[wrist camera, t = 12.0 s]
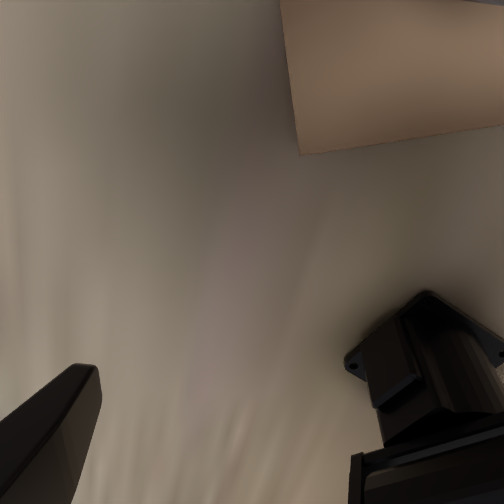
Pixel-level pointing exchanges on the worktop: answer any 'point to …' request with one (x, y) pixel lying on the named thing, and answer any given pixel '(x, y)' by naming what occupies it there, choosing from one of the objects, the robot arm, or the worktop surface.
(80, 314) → the worktop surface
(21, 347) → the worktop surface
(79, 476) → the robot arm
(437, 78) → the post board
